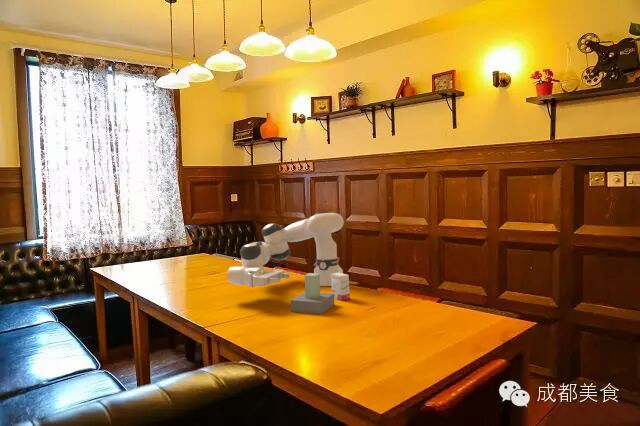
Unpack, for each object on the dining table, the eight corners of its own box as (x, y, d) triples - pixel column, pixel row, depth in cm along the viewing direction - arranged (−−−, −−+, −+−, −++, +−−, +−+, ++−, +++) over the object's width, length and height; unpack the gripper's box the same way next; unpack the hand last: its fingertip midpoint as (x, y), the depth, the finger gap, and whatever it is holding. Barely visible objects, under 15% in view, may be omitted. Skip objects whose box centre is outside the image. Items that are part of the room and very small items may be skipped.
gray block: (306, 302, 207) (306, 291, 207) (334, 304, 202) (334, 293, 202) (291, 311, 193) (290, 300, 192) (320, 314, 187) (320, 302, 187)
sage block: (309, 295, 200) (309, 273, 200) (320, 295, 198) (319, 273, 198) (305, 297, 196) (304, 275, 195) (315, 298, 194) (315, 275, 193)
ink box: (350, 299, 210) (349, 274, 209) (341, 301, 207) (341, 276, 207) (339, 296, 217) (339, 272, 217) (331, 297, 215) (330, 273, 214)
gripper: (269, 278, 217) (294, 280, 212) (246, 288, 198) (274, 290, 193) (268, 266, 217) (294, 267, 211) (246, 274, 198) (273, 275, 192)
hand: (284, 278), depth 202 cm, fingers open, 8 cm apart
